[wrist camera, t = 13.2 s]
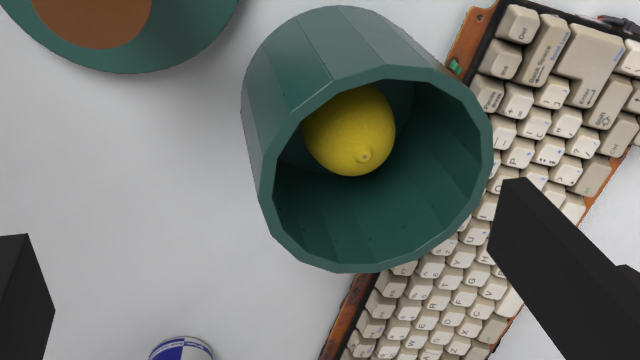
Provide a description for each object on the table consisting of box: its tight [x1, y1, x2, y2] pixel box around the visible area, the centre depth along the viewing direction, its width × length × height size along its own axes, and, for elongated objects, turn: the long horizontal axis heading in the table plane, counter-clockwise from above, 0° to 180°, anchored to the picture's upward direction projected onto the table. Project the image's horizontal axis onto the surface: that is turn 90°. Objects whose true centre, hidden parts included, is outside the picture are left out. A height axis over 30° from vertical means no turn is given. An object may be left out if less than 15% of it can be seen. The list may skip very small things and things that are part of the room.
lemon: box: [300, 83, 396, 176], centre depth 32 cm, size 6×6×8 cm
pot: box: [240, 5, 494, 274], centre depth 32 cm, size 12×12×10 cm
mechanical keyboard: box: [318, 0, 640, 360], centre depth 44 cm, size 38×19×3 cm, turn 163°
